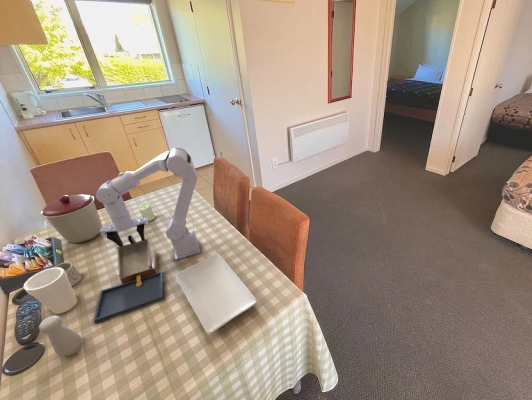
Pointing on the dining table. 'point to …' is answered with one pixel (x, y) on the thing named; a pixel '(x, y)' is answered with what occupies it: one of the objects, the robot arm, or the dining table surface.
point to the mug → (70, 272)
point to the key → (138, 281)
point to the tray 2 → (214, 292)
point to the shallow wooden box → (146, 273)
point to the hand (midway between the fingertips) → (133, 243)
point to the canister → (74, 217)
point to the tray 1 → (129, 297)
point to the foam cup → (52, 289)
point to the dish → (134, 258)
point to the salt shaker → (61, 336)
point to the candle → (146, 211)
